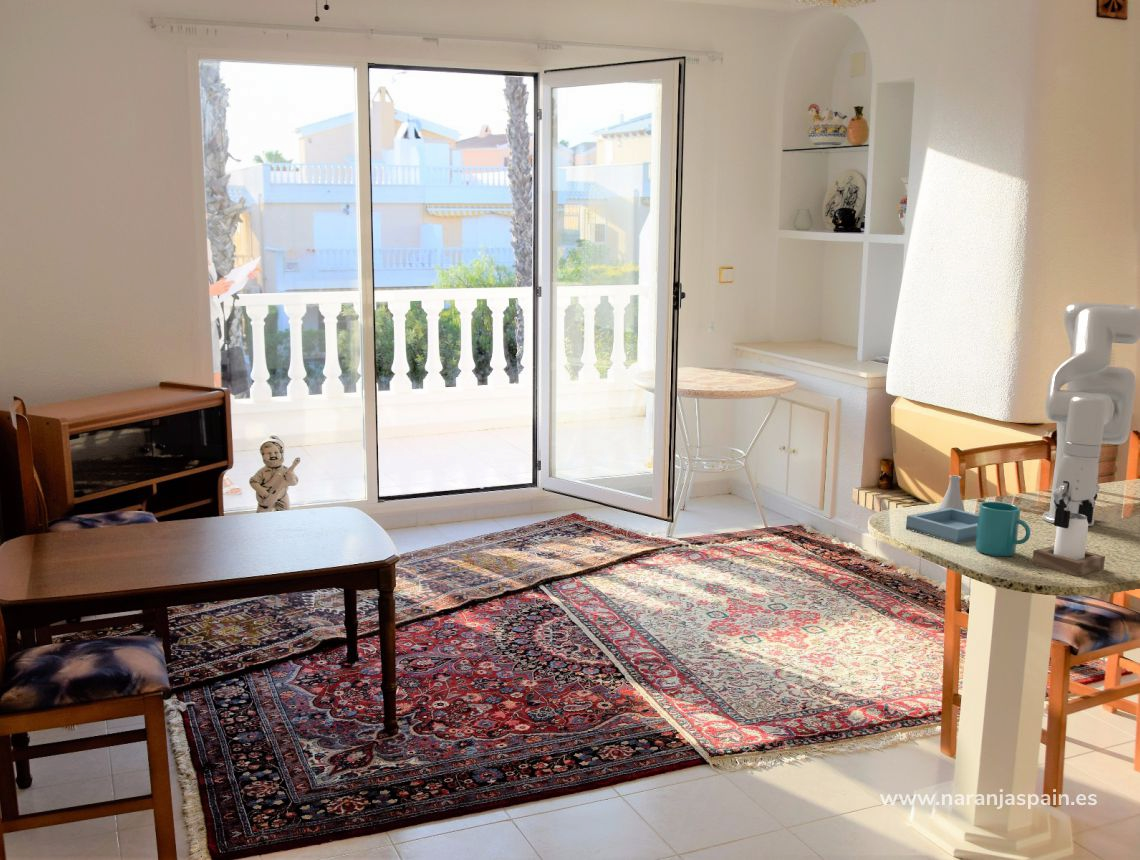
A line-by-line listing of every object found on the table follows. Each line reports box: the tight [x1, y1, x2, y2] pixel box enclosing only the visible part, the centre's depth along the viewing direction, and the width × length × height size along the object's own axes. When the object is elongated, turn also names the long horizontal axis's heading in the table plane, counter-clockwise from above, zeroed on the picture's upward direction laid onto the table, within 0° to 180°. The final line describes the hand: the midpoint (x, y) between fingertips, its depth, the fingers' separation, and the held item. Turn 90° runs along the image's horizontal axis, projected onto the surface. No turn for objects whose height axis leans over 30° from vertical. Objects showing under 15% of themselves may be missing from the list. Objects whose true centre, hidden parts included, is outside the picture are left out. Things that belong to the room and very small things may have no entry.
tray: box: [905, 508, 979, 544], centre depth 273 cm, size 18×15×4 cm
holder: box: [1031, 545, 1106, 577], centre depth 247 cm, size 11×11×3 cm
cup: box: [974, 501, 1031, 558], centre depth 255 cm, size 9×12×11 cm
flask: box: [937, 474, 966, 512], centre depth 293 cm, size 7×7×10 cm
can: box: [1053, 513, 1089, 560], centre depth 246 cm, size 6×6×12 cm
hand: (1072, 524), depth 245 cm, fingers open, 9 cm apart
